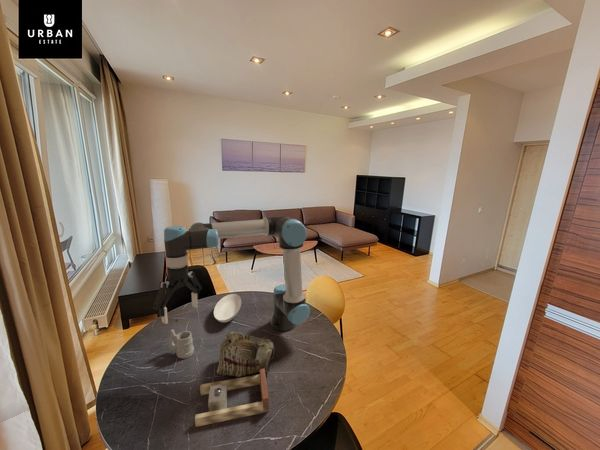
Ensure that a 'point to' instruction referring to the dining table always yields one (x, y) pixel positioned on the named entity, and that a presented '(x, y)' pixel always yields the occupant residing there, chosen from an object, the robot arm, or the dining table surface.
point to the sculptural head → (244, 355)
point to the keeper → (217, 397)
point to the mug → (182, 344)
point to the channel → (238, 410)
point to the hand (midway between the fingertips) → (180, 314)
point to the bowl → (227, 308)
